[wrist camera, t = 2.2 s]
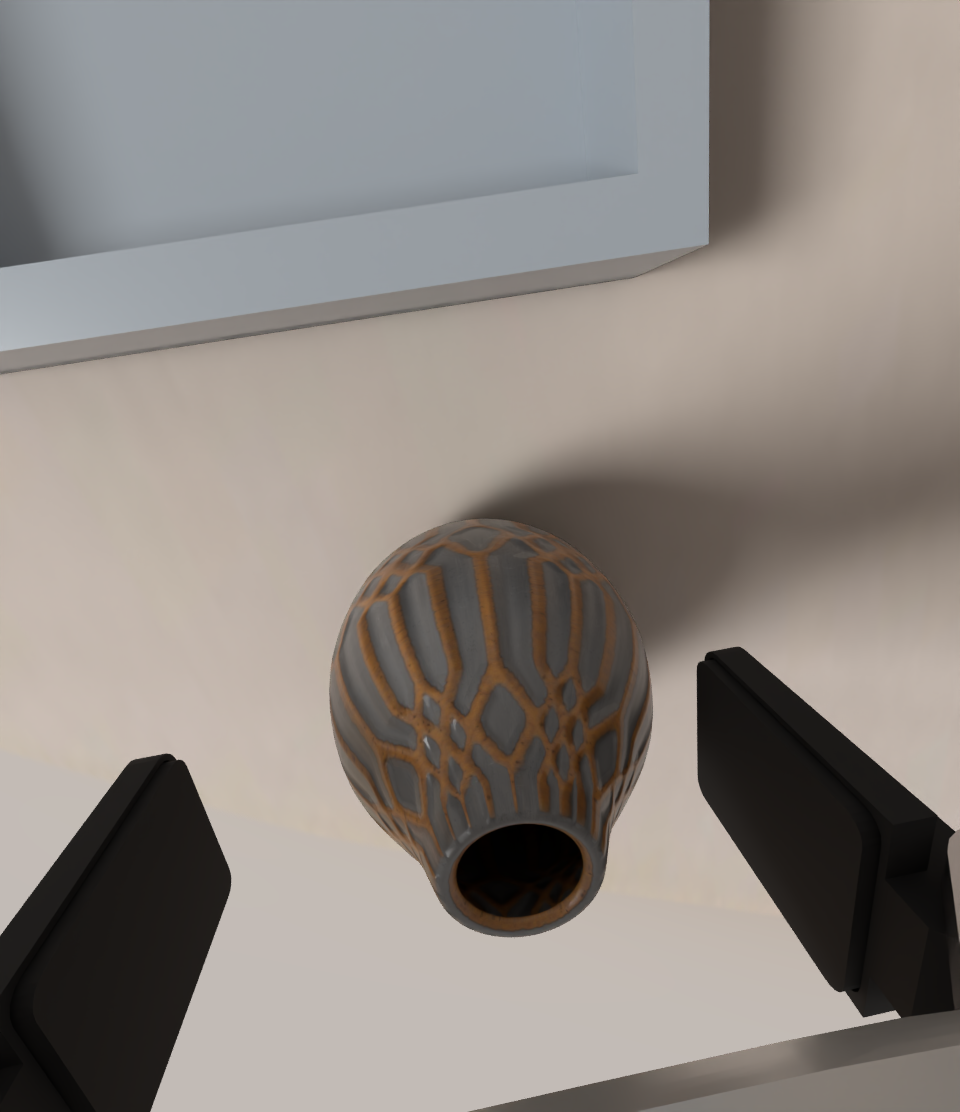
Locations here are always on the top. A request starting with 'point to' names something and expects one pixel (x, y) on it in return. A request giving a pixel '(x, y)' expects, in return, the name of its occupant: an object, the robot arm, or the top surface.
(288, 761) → the top surface
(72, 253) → the bin
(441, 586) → the vase
